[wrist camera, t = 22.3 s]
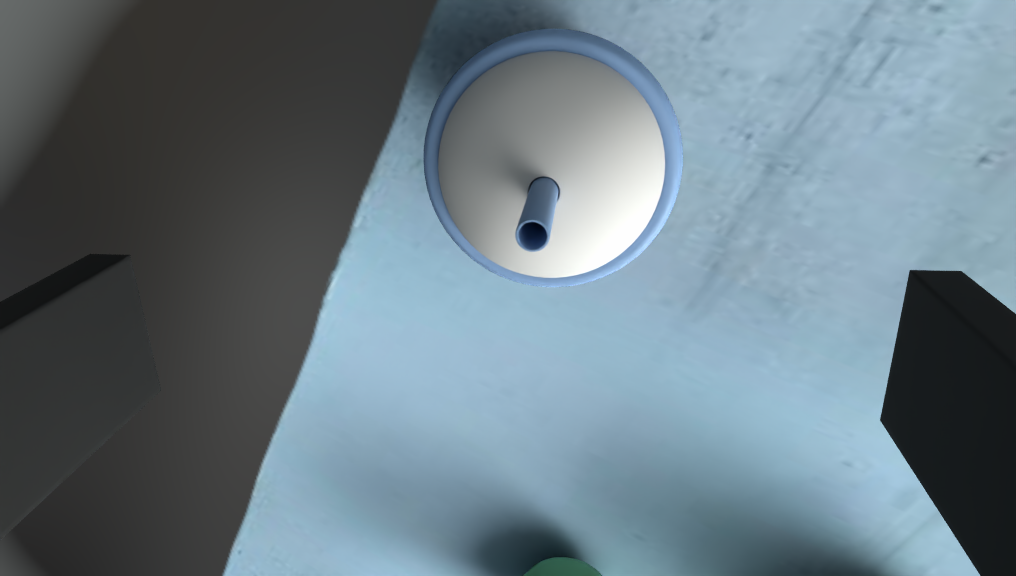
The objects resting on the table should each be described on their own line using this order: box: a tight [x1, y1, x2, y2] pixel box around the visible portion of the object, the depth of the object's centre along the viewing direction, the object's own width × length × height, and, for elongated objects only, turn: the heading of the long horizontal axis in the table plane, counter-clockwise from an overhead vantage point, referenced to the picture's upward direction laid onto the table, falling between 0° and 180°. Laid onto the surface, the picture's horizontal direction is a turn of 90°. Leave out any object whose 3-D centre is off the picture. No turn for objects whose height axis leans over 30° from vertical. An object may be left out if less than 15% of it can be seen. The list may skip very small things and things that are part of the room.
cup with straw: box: [424, 29, 683, 287], centre depth 27 cm, size 9×9×18 cm
